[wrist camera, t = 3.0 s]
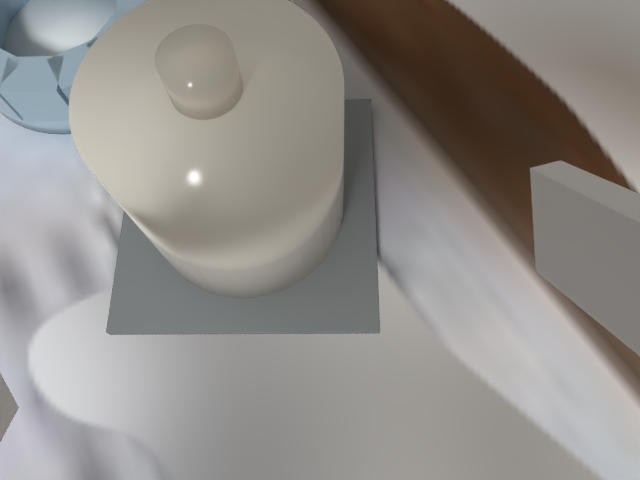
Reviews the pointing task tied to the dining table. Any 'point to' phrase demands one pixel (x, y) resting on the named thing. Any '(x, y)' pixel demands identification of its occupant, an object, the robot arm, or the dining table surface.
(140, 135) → the cover
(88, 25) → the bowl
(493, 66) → the dining table surface
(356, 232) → the mat
